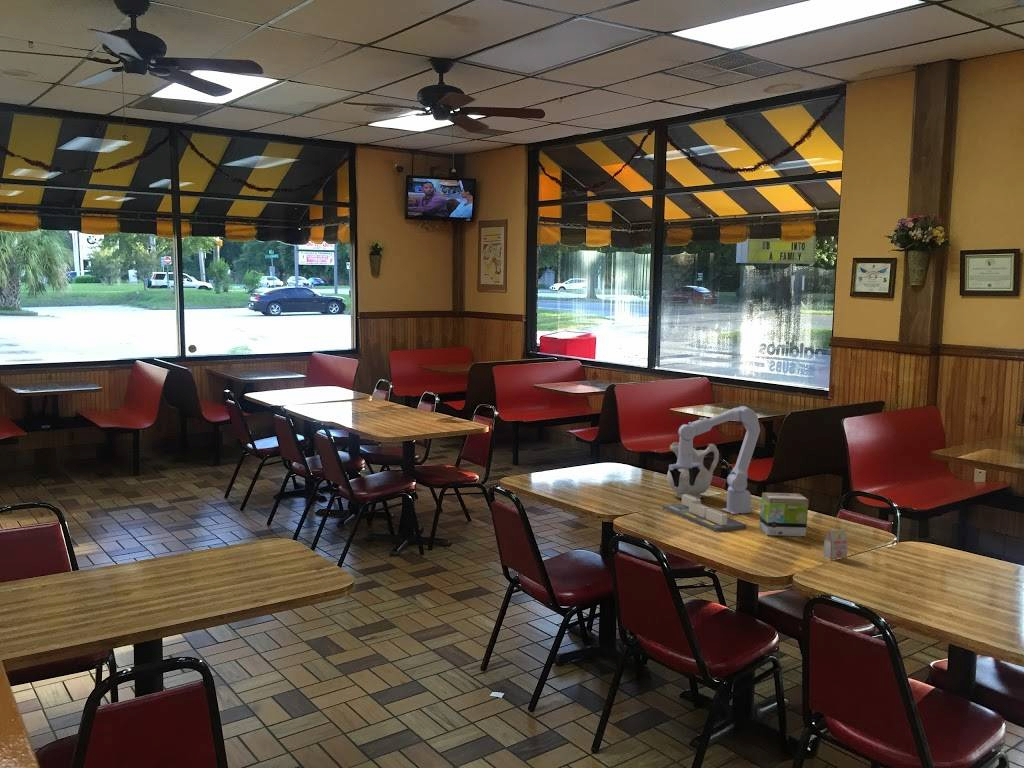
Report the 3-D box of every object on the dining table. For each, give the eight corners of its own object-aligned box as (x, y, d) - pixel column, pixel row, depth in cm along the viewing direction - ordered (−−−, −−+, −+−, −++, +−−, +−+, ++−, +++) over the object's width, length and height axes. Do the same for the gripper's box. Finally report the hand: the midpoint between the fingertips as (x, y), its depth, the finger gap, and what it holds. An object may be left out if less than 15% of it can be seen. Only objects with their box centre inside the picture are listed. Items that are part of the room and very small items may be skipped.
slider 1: (686, 503, 364) (686, 492, 363) (700, 509, 354) (701, 498, 354) (681, 504, 363) (682, 493, 362) (695, 509, 353) (696, 498, 353)
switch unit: (691, 506, 367) (691, 502, 367) (746, 528, 334) (746, 523, 334) (662, 508, 361) (662, 504, 361) (715, 531, 328) (715, 527, 328)
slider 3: (710, 518, 341) (711, 506, 340) (726, 524, 332) (727, 513, 331) (705, 518, 340) (706, 507, 339) (721, 525, 331) (722, 513, 330)
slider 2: (693, 511, 351) (694, 500, 351) (708, 517, 342) (709, 506, 342) (688, 511, 350) (689, 500, 350) (703, 517, 341) (704, 506, 341)
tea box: (767, 536, 324) (769, 498, 322) (758, 529, 334) (761, 491, 332) (806, 537, 324) (809, 498, 323) (797, 529, 334) (799, 492, 333)
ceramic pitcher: (709, 495, 392) (710, 440, 392) (722, 502, 373) (723, 445, 372) (662, 494, 391) (663, 440, 390) (673, 502, 372) (674, 444, 371)
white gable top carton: (823, 557, 300) (825, 529, 299) (839, 555, 302) (841, 528, 301) (830, 560, 297) (831, 532, 296) (846, 559, 299) (848, 530, 297)
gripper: (694, 450, 363) (692, 482, 365) (665, 452, 358) (663, 484, 359) (704, 454, 357) (702, 486, 358) (675, 456, 351) (673, 488, 353)
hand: (683, 485), depth 358 cm, fingers open, 7 cm apart
